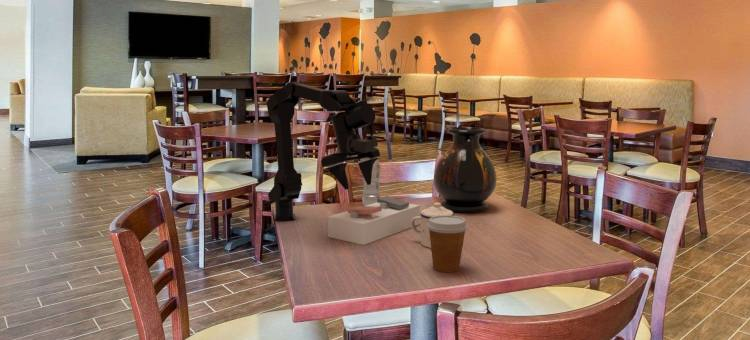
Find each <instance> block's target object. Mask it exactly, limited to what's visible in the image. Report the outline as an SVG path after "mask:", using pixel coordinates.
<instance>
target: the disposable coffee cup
mask: <svg viewBox="0 0 750 340" xmlns="http://www.w3.org/2000/svg"><path fill="white" fill-rule="evenodd" d="M427 226H428V228H429V233H430V242H431V248H430V250H431V258H432V260H431V261H432V267H433V269H434V270H435V271H438V272H442V273H453V272H457V271H459V270H460V265H461V261H462V260H461V258H462V253H463V252H462V251H463V246H464V239H465V234H466V230H467V228H468V224H467V222H466V219H465V218H464V217H461V216H457V215H454V216H449V215H442V216H434V217H431V218H430V219H429V223H428V224H427Z"/></svg>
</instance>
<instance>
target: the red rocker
mask: <svg viewBox="0 0 750 340" xmlns="http://www.w3.org/2000/svg"><path fill="white" fill-rule="evenodd" d="M347 211H348V213H351V211H354V212H358V214H373V213H376V212H380V211H382V208H381V207H375V206H364V205H357V206H353V207H351V208H347Z"/></svg>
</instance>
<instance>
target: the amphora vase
mask: <svg viewBox="0 0 750 340" xmlns="http://www.w3.org/2000/svg"><path fill="white" fill-rule="evenodd" d="M447 133H449V134H451V135H452V139H453V140H452V144H450V147H449V148H447V150H446V151H445V152H444V153H443V154H442V155H441V156H440V158H439V160H438V162H437V163H436V167H435V169H434V174H433V185H434V189H435V190H436V192H437V194H438V196H440V197H441V198H442V199H441V201H440V203H441V206H442V207H444V208H446V209H448V210H451V211H452V212H453V213H465V214H466V213H472V214H473V213H479V212H482V211H485V210H486V209H487V208H488V206H489V203H488V202H487V200H488V199H489V198H490V196H492V194H493V193H494V192H495V190H496V185H497V173H496V169H495V165H494V163H493V160H492V159H491V158H490V156H489V155H488V154H487V152H486V151H485V150H484V149H483V147H482V146H481V143H480V141H479V140H480V137H481V135H483V134H486V130H485V129H484V128H482V127H475V126H454V127H449V128H447Z"/></svg>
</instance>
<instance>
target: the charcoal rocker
mask: <svg viewBox="0 0 750 340" xmlns="http://www.w3.org/2000/svg"><path fill="white" fill-rule="evenodd" d="M377 202H378V203H387V206H390V207H393V208H396V209H402V208H406V207H409V204H410V202H408V201H404V200H401V199H398V198H395V197H392V196H389V195H385V196H381V198H377Z"/></svg>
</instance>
